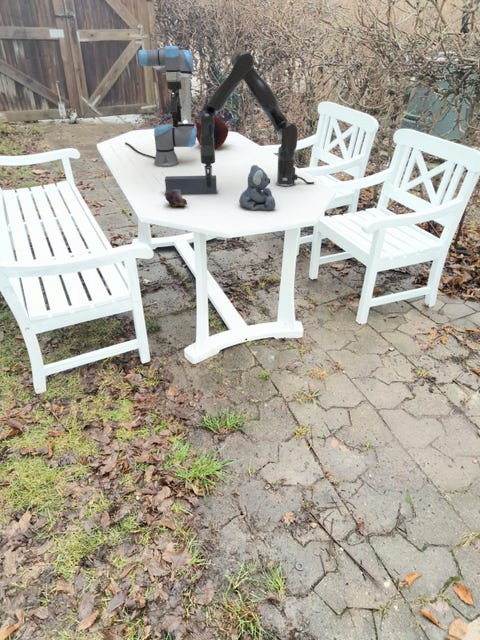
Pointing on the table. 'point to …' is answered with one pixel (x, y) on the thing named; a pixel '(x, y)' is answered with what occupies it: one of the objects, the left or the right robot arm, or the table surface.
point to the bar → (191, 184)
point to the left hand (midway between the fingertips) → (177, 124)
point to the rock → (175, 198)
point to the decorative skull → (215, 132)
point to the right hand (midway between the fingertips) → (209, 185)
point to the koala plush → (257, 191)
